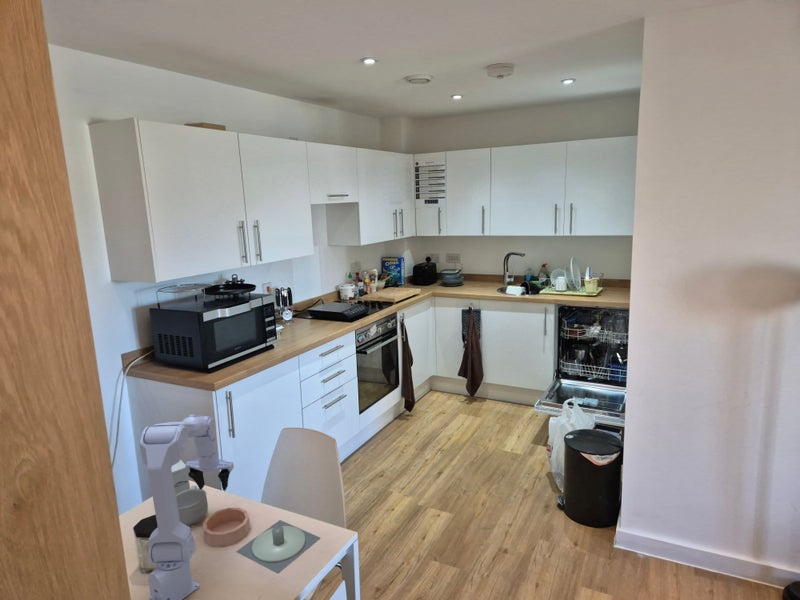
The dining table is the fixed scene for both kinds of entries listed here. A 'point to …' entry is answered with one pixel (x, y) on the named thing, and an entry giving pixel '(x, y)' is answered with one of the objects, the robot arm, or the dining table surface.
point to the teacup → (192, 505)
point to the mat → (279, 566)
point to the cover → (278, 544)
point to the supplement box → (180, 477)
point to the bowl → (226, 527)
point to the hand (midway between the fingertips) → (213, 487)
